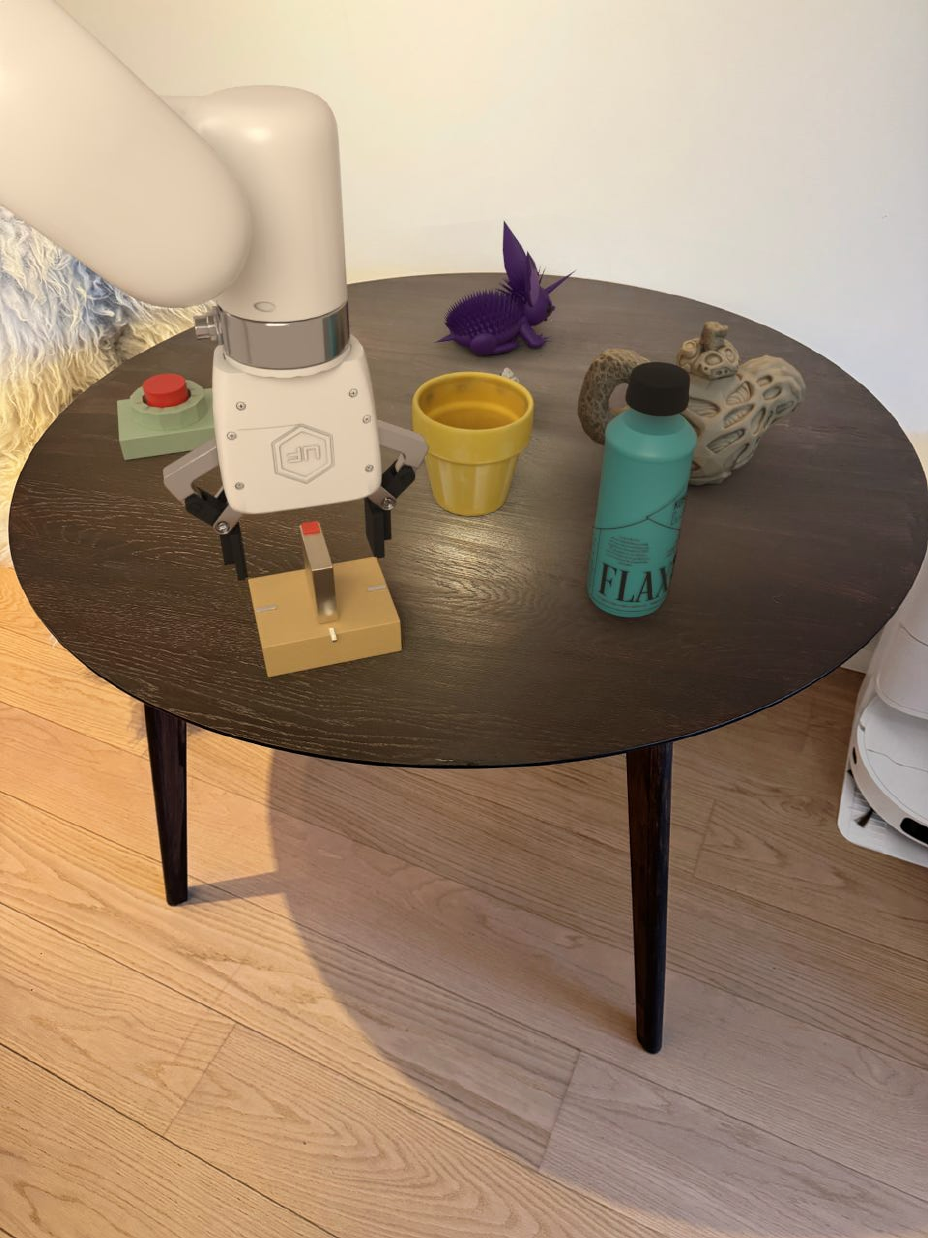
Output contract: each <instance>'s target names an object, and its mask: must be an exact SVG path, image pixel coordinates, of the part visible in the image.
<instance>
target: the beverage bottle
mask: <svg viewBox="0 0 928 1238" xmlns="http://www.w3.org/2000/svg"><path fill="white" fill-rule="evenodd" d="M689 389H690V376H689V374H688V372H687V371H686V370H685V369H683V368H681V367H679V366H677V365H676V364H674V363H670V362H664V361H651V362H648V363H643V364H640V365H638V366H636V367H635V368H634V369H633V370H632V372H631V375H630V380H629V384H627V388H626V391H625V403H626V405H627V404H628V405H629V406H630V407H631V408H630V409H628V410H626V411H624V412H622V413H621V414H619V415H618V416H616V417H615V418H613V419H612V420H611V421H610V422H609V423H608V425H607V427H606V431H605V446H604V447H603V457H602V465H601V474H600V483H599V490H598V492H599V493H598V498H597V507H596V515H595V520H594V525H593V526H592V527H591V528H592V529H593V530H591V536H592V537H590V540H589V541H590V544H589V547H590V553H588V555H587V556H588V558H587V568H586V574H585V579H586V581H585V583H584V585H585V586H586V587H585V589H586V591H587V593H588V596H589V599H590V600H591V602H592V603H593V604H594V605H595V606H596V607H598V608H599V609H600V610H602V611H604V612H606V613H607V614H610V615H613V616H616V617H621V618H623V617H624V618H639V617H645V616H647V615H650V614H653V613H655V612H656V611H657V610H658V609H659V608H660V607H661V606H662V604H663V603H664V602H665V600H666V598H667V595H669V593H670V588H671V586H669V585H670V584H671V582H672V580H673V579H672V578H673V575H674V570H675V563H676V559H677V554H678V546H679V543H680V540H681V531H682V528H680V527H681V524H682V523H681V522H682V519H683V514H684V513H685V512H686V510H685V508H686V507H687V500H688V498H689V493H690V489H691V485H688V483H690V482H689V480H690V479H689V477H690V474H691V475H692V474H693V473H690V471H691V464H692V459H693V454H694V449H695V448H696V445H697V434H696V432H695V430H694V428H693V427H692V426H691V424H690V423H689V422H688V421H687V420H686V419H685V418H684V417H683V416H682V415H681V414H679V413H681V412H683V411H684V410H686V408H687V407H688V403H689ZM690 478H691V477H690Z"/></svg>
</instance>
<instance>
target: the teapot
mask: <svg viewBox="0 0 928 1238" xmlns="http://www.w3.org/2000/svg"><path fill="white" fill-rule="evenodd" d="M729 332H730V331H729V326H728V325H726V324H721V323H720V322H718V321H705V322H704V325H703V328H702V330H701V334H700V336H699V337H695V338H693V339H689V340H685V341H683V342H682V345H681V346H680V348H679V349H678V350H677V353H676V358H675V365H677V366H679V367H681V368H683V369H685V370H686V371H687V372H688V374H689V376H690V389H689V403H688V407H687V408H686V410H684V411H683V412H681V413H679V414H681V415H682V416H683V417H684V418H685V419H686V420H687V421H688V422H689V423H690V424H691V426H692V427H693V428H694V430H695V432H696V434H697V445H696V448H695V449H694V454H693V459H692V464H691V471H690V473H693V474H692V475H691V474H690V477H691V478H690V477H689V479H690V480H689V482H690V483H688V486H689V485H690V486H693V485H694V486H697V487H698V486H703V485H707V484H708V485H709V484H710V485H711V484H715V485H717V484H722V483H723V482H724V480H726V479H727V478H728V477H729V476H731V475H732V472H733V471H736V470H738V469H741V468H742V467H744V466H746V464H747V463H748V462H749V461H750V459H752V458H753V457H754V454H755V452H756V449H757V447H758V444H759V443H760V441H761V438H762V437H763V435H764V434H765V432H766V431H768V430H769V429H770V428H771V427H773V426H775V425H777V424H779V423H781V422H783V421H785V420H786V419H788V418H789V417H790V416H791V415H792V414H793V412H794V411H795V410H796V409H797V408H798V407H801V406H802V405H804V404H805V397H806V391H807V390H806V389H807V385H806V384H805V382H804V379H803V376H802V374H801V373H800V372H799V371H798V370H797V368H795V367H794V366H793V365H791V364H790V363H789V362H787V360H785V359H783V358H782V357H778V356H773V355H772V356H771V355H769V354H764V355H762V356H760V357H759V356H758V357H756V358H751V359H749V360H747V361H745V362H744V363H741V358H740V356H739V352H738V350H737V349H736V348H735V347H734V345H733V344H732V343H731V342H730V341H729V340H727V339H725V338H726V337H727V335H728V334H729ZM648 362H652V361H650V359H648V358H646V357H644V356H641V355H640V354H638V353H637V352H636V351H634V350H633V349H622V348H607V349H606V350H605V351H603V352H602V353H599V355H597V356H596V357H595V358H594V359H593V360H592V362H591V363H590V366H589V367H588V369H587V371H586V372H585V374H584V377H583V381H582V384H581V388H580V391H579V396H578V399H577V400H578V401H577V411H576V412H577V413H576V414H577V417H578V420H579V423H580V425H581V428H582V430H583V432H584V433H585V435H586V436H587V437H589V439H590V440H591V441H592V442H593V443H595V444H598V445H599V446H604V447H605V431H606V427H607V425H608V423H609V422H610V421H611V420H612V419H613V418H615V417H616V416H618V415H619V414H621V413H622V412H624V411H626V410H628V409H630V408H631V407H630V406H629V405H628V404H627V403H626V405H625V406H624V407H620V408H617V407H616V408H611V407H610V398H611V396H612V393H613V392H614V390H615V389H616V387H617V386H620V385H621V384H627V385H629V380H630V375H631V372H632V370H633V369H634V368H635V367H636V366H638V365H640V364H643V363H648Z"/></svg>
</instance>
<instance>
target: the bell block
mask: <svg viewBox="0 0 928 1238" xmlns="http://www.w3.org/2000/svg"><path fill="white" fill-rule="evenodd" d="M185 381H186V385H187V390H188V395H189V399H188V400H187V401H186V402H184V403H182V404H180V405H177V406H174V407H166V408H158V407H150V406H148V404H147V402H146V398H145V394H144V390H143V385H142V386H139V387H138V388H137V389H136V390H135V391H133V393H131V394H130V395H129V398H125V399H118V400H116V408H117V410H116V411H117V426H118V427H117V428H118V429H117V430H118V442H119V446H120V449H121V453H122V456H123V460H124V461H128V460H136V459H143V458H149V457H156V456H164V455H169V454H177V453H184V452H191V451H193V450H194V449H196V448H197V447H199V446H201V445H202V444H204V443H206V442H207V441H209V440H210V439H212V438H214V437H215V427H214V416H213V392H212V387H208V388H204V387H203V386H201V385H200V384H198V383H196V382H195V381H193V380H188V379H185Z"/></svg>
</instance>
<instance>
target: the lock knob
mask: <svg viewBox="0 0 928 1238" xmlns="http://www.w3.org/2000/svg"><path fill="white" fill-rule="evenodd" d="M298 528H299V537H300V544H301V551H302V557H303V565H304V569H305V573H306V579H307V583H308V586H309V590H310V594H311V597H312V601H313V605H314V608H315V612H316V616H317V619H318V623H319V624H321V623H326V622H332V621H337V620H339V615H338V606H337V597H336V588H335V579H334V570H333V565H332V564H333V562H332V559H331V555H330V552H329V549H328V546H327V543H326V539H325V536H324V533H323V530H322V527H321V524H320V522H319V521H318V520H314V521H307V522H301V523H300V525H299V526H298Z"/></svg>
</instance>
